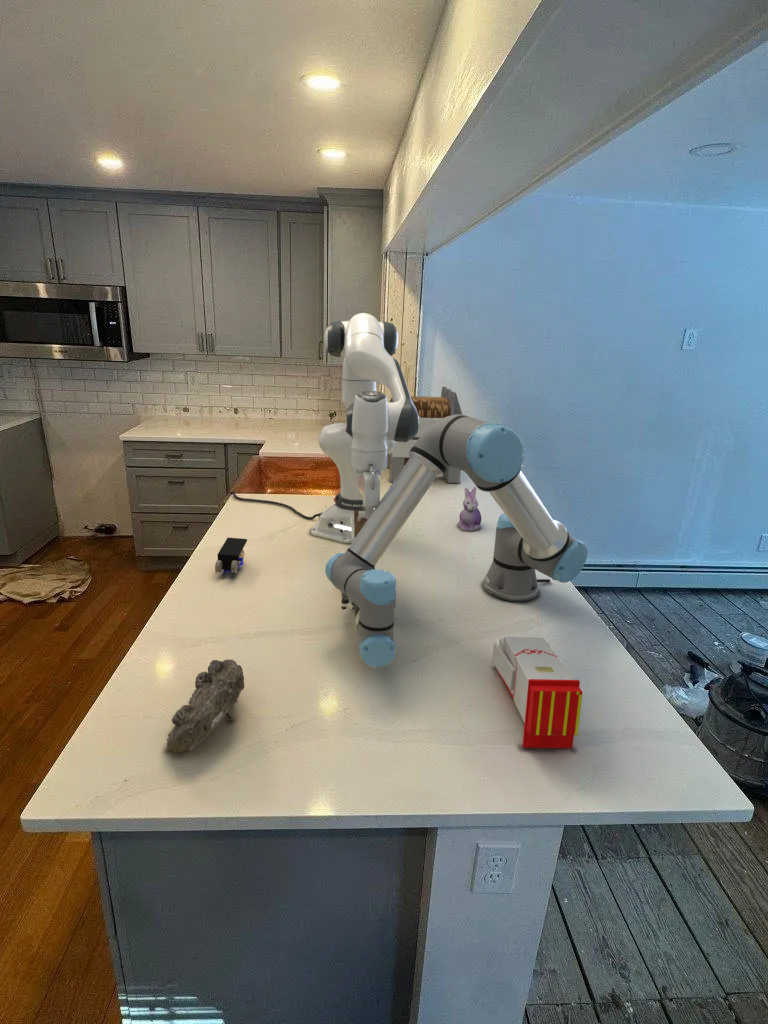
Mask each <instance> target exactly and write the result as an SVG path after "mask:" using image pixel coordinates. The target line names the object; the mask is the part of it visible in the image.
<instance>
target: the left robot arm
mask: <svg viewBox="0 0 768 1024" xmlns="http://www.w3.org/2000/svg"><path fill="white" fill-rule="evenodd" d="M323 338H324V339H323V341H324V346H325V349H326V350H327V353H328V355H330V356H332V357H334V358H341V357H342V358H343V362H342V369H341V370H342V371H341V403H342V405H343V406H344V407H345V408H346V409H345V417H346V418H345V422H335V423H330V424H326V425H323V427H322V429H321V430H320V432H319V435H318V445H319V447H320V450H321V451H322V452H323V453H324V454H325V455H326V456H328V457H329V458H330V459H331V460H332V462H333V463H334V464H335V466H336V467H337V470H338V474H339V483H340V484H339V485H340V488H339V489H340V490H339V491H338V492H337V494H336V495H335V496H334V497H333V502H334V504H333V505H331V506H329V507H328V508H326V509H325V510H323V512H319V513H315V514H314V515H312V516H306V515H304V514H303V513H302V512H299V511H298V510H296V509H295V508H294V507H292V506H290V505H289V504H286V503H283V502H278V501H273V500H265V499H256V498H246V497H245V498H244V497H239V496H238V495H237V494H236V492H235V491H234V490H232V491H230V493H229V495H233V497H234V498H235V499H236V500H239V501H244V502H256V503H264V504H272V505H277V506H280V507H281V506H282V507H285V508H288V509H290V510H291V511H292V512H293V513H295V514H297V515H298V516H300V517H301V518H304V519H305V520H315V518H316V517H318V521H317V523H315V524H314V525H313V526H312V528H311V530H310V533H311V536H315V537H319V538H323V539H326V540H330V541H336V542H339V543H343V544H351V543H352V542H353V540H354V510H364V511H365V518H366V519H368V518H369V517H370V515H371V514H372V513H373V510H375V508H376V507H377V505H378V504H379V502H380V501H381V477H380V476H381V475H382V474H383V471H384V470H386V469H388V467H387V458H388V454H390V453H391V452H392V451H393V450H394V448H395V446H396V443H397V442H408V441H409V440H411V439H412V438H413V437H414V436H415V435H416V434H417V433H418V428H419V416H418V413H417V409H416V407H415V405H414V403H413V402H412V399H411V394H410V391H409V388H408V385H407V381H406V379H405V378H406V377H405V376H404V372H403V370H402V366H401V365H400V363H399V361H398V360H397V359H396V358H395V357H393V355H395V353H396V351H397V349H398V345H399V333H398V331H397V327H396V326H395V324H394V323H391V322H388V321H379V320H378V319H377V318H376V317H375V316H374V315H372V314H370V313H368V312H360V313H356V314H355V315H353V316H352V317H350V319H349V320H343V321H342V320H340V319H339V320H333V321H331V322H330V323H329V324H328V325H327V327H326V329H325V333H324V336H323ZM377 384H380V385H382V386H384V387H385V388H387V389H388V390H389V392H390V395H391V398H393V402H389V401H388V397H387V395H386V394H385V393H383V392H381V391H378V390H377Z"/></svg>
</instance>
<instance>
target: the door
mask: <svg viewBox="0 0 768 1024" xmlns="http://www.w3.org/2000/svg"><path fill="white" fill-rule="evenodd" d="M374 510H375V509H374ZM374 510H373V511H374ZM367 520H368V519H366V518H365V511H364V510H354V539H355V537H356V536H357V534H358V533H359V531H360V530H361V528H362V527H363V526H364V524H365V523H366V521H367Z"/></svg>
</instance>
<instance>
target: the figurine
mask: <svg viewBox="0 0 768 1024" xmlns="http://www.w3.org/2000/svg"><path fill="white" fill-rule="evenodd" d="M476 494H477V486H474V487H473V488H472V489H471V491H470V490H469V488H467V487H464V499H463V501H462V506H463V509H462V510H461V511H460V513H459V521H458V527H459V528H460V529H461V530H463V531H469V532H472V531H476V530H478V529H479V528H481V523H482V514H481V512H480V510H479V508H478V507H479V501H478V498H477V497H476Z"/></svg>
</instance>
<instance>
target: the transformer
mask: <svg viewBox="0 0 768 1024" xmlns="http://www.w3.org/2000/svg"><path fill="white" fill-rule="evenodd" d="M440 393H441V394H440V396H415V395H414V396H413V395H412V396H411V395H410V396H411V399H412V402H413V403H414V405H415V407H416V409H417V413H418V416H419V428H418V433H417V434H416V435H415V436H414V437H413V438H412V439H411V440H409V441H408V442H397V443H396V446H395V448H394V450H393V451H392V452H391V453H390V454H388V458H387V468H389V475H388V476H389V477H388V478H389V480H390V482H391V483H393V482H394V481H395V479H396V478H397V476H398V475H399V473H400V472H401V470H402V469H403V467H404V466H405V465H406V463H407V462H408V460H409V451H410V450H411V448H412V447H413V446H414V444H415V443H416V441H417V440H418V439H419V438H420V437H421V435H422V434H423V433H424V432H425V431H426V430H427V429H428V428H430V427H431V426H432V425H433V424H434V423H436V422H437V421H439V420H440V419H442V418H445V417H447V416H450V415H463V411H462V408H461V405H460V402H459V398H458V395H457V392H455V391H453V390H452V389H451V388H447V386H442V387H441V392H440ZM388 402H393V398H392V397H391V398H390V400H389V401H388ZM461 472H462V470H460V469H458V468H455V467H453V466H451V467H449V468H448V469H447V470H446V472H445V473H444V475H443V476H442V477H443V478H444V479H445V481H446V482H447V483H449V484H455V483H456V484H459V483H461Z"/></svg>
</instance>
